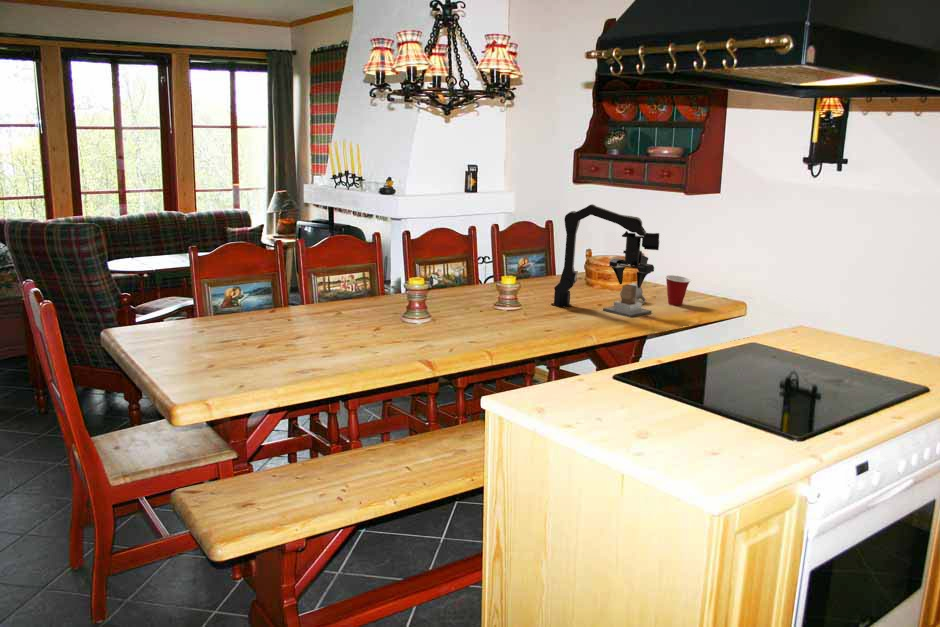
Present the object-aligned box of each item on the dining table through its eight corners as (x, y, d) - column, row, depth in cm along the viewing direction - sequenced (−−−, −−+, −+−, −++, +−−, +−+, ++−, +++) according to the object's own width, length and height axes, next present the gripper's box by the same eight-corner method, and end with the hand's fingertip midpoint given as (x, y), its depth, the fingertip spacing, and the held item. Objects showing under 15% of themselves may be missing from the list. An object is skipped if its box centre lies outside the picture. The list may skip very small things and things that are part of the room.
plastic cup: (683, 308, 328) (686, 280, 325) (659, 304, 334) (661, 277, 331) (691, 304, 337) (694, 277, 334) (667, 300, 343) (670, 274, 340)
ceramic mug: (618, 301, 338) (619, 284, 336) (626, 298, 344) (628, 281, 342) (640, 305, 332) (642, 288, 330) (648, 302, 338) (650, 285, 336)
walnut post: (628, 311, 315) (630, 287, 313) (620, 309, 318) (622, 285, 316) (634, 309, 318) (636, 286, 316) (626, 307, 321) (628, 284, 318)
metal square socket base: (630, 317, 309) (631, 307, 308) (603, 310, 319) (603, 301, 318) (651, 313, 318) (652, 303, 317) (624, 306, 328) (625, 297, 327)
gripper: (663, 250, 310) (660, 287, 314) (626, 244, 324) (623, 280, 328) (647, 252, 303) (643, 290, 307) (609, 245, 317) (607, 283, 321)
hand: (629, 286), depth 316 cm, fingers open, 9 cm apart
